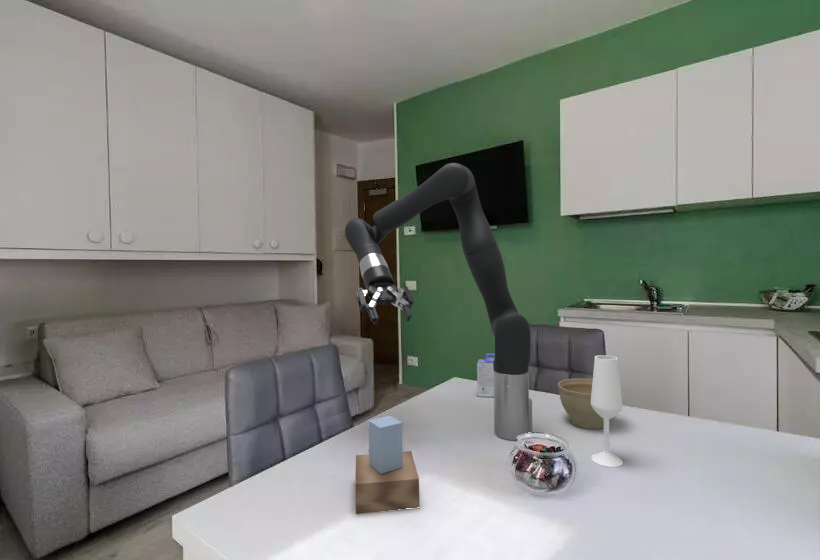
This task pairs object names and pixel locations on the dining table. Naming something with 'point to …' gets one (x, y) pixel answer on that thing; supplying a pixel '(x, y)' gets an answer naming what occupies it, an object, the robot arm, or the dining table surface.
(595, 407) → the champagne flute
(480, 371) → the ink cartridge box
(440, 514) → the dining table surface
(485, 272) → the robot arm
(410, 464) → the walnut block
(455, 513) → the dining table surface
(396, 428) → the slate blue pillar block
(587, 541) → the dining table surface
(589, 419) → the planter bowl
